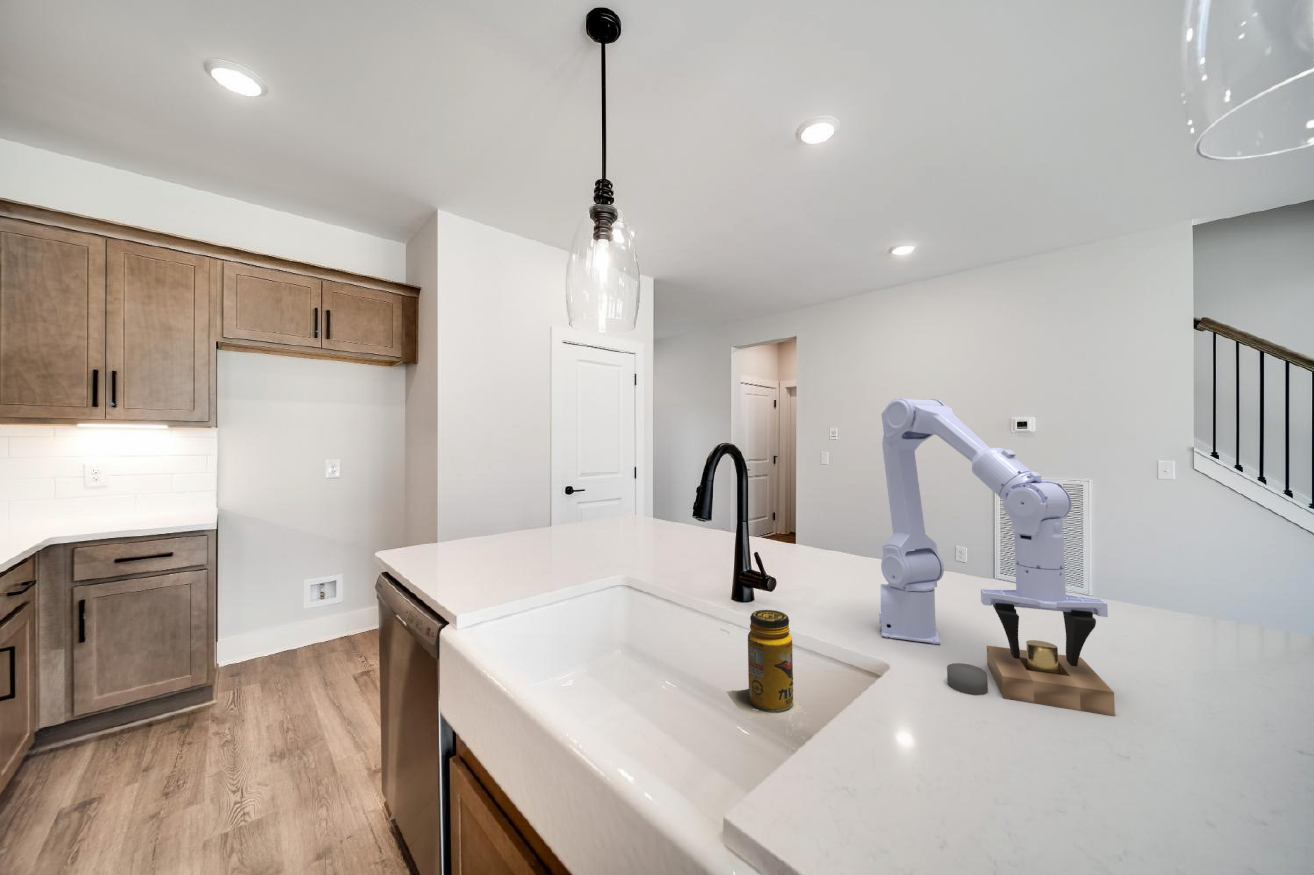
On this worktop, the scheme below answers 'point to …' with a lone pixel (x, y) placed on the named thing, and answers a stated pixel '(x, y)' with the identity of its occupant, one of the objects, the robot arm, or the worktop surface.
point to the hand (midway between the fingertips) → (1043, 659)
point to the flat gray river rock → (967, 679)
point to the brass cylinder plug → (1042, 657)
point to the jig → (1050, 683)
